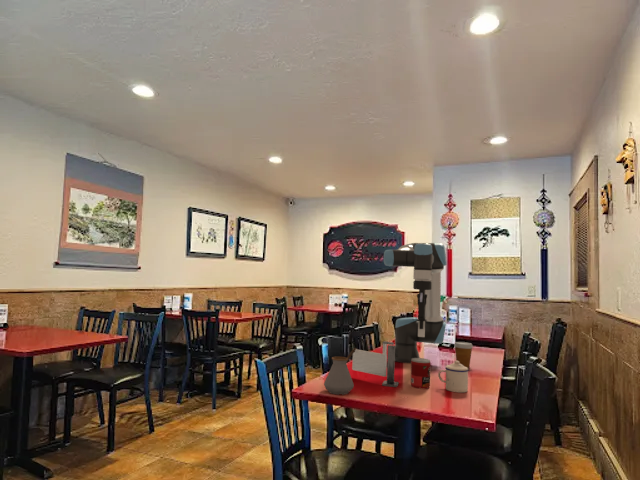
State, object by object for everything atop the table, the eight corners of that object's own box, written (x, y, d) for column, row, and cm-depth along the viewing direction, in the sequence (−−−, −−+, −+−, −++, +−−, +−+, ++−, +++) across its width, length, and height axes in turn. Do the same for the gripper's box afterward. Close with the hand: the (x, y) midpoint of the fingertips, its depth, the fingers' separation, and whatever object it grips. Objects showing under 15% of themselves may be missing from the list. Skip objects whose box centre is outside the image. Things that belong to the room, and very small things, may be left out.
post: (384, 382, 188) (385, 344, 190) (398, 384, 187) (399, 345, 188) (382, 385, 183) (383, 346, 184) (396, 387, 181) (397, 347, 182)
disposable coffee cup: (449, 365, 234) (450, 342, 235) (463, 364, 238) (463, 341, 239) (462, 368, 226) (462, 344, 227) (476, 367, 230) (477, 344, 231)
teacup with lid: (470, 389, 182) (470, 360, 183) (466, 394, 174) (466, 364, 175) (440, 385, 188) (441, 357, 189) (435, 389, 180) (436, 360, 181)
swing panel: (392, 377, 185) (393, 342, 186) (390, 378, 184) (391, 342, 185) (354, 369, 198) (355, 336, 199) (351, 369, 197) (353, 337, 198)
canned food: (425, 389, 179) (426, 362, 179) (407, 386, 183) (408, 359, 184) (433, 386, 185) (433, 359, 186) (415, 383, 189) (415, 357, 190)
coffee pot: (345, 397, 162) (347, 356, 163) (318, 392, 167) (320, 352, 169) (367, 386, 181) (369, 349, 182) (342, 382, 186) (343, 345, 187)
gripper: (430, 280, 180) (429, 339, 178) (432, 280, 193) (431, 335, 191) (412, 279, 183) (410, 337, 181) (414, 280, 195) (413, 334, 193)
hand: (421, 336), depth 186 cm, fingers closed
